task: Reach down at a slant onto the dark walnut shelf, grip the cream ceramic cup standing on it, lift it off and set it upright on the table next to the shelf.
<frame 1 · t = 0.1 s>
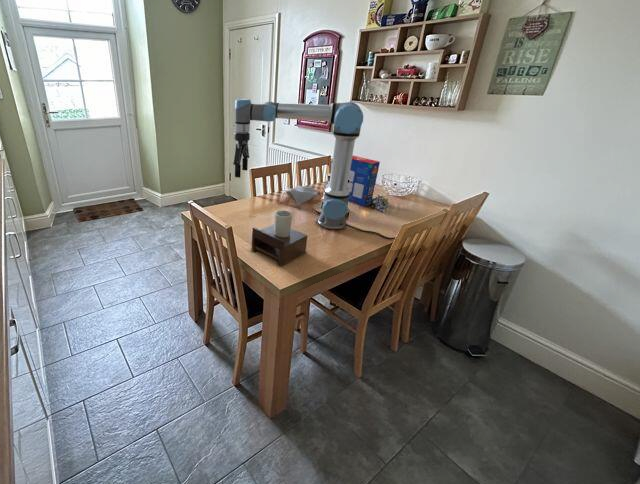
hand: (241, 173, 171), 28 cm above the table, tool pointing down, fingers open, 13 cm apart
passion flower: (377, 210, 203), on the table
pasta box: (349, 199, 219), on the table
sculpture: (300, 200, 215), on the table
cup: (281, 233, 151), point 9 cm above the table, touching shelf
shelf: (278, 251, 154), on the table
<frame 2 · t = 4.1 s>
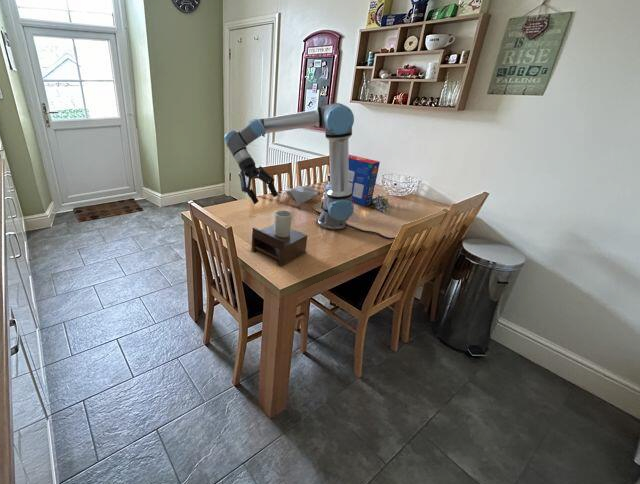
hand: (266, 199, 152), 23 cm above the table, tool tilted 45°, fingers open, 13 cm apart
nothing on the table moved.
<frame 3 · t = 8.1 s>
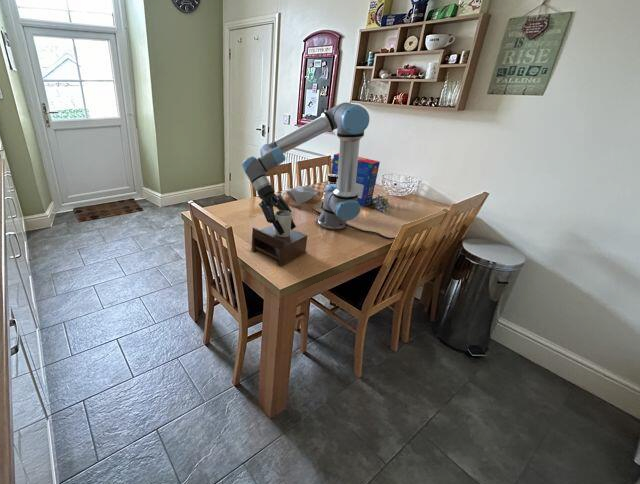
hand: (288, 230, 148), 12 cm above the table, tool tilted 45°, fingers closed on cup, 8 cm apart
cup: (281, 233, 151), point 9 cm above the table, touching gripper, shelf
everything else where it was.
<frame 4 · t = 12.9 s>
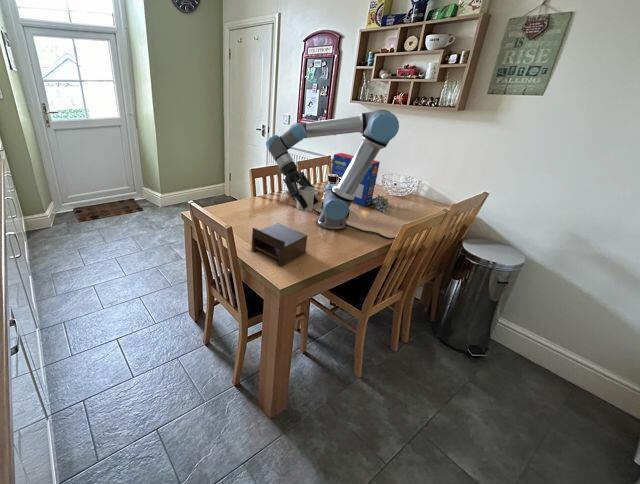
hand: (311, 205, 154), 20 cm above the table, tool tilted 45°, fingers closed on cup, 8 cm apart
cup: (304, 208, 158), point 17 cm above the table, touching gripper
everything else where it was.
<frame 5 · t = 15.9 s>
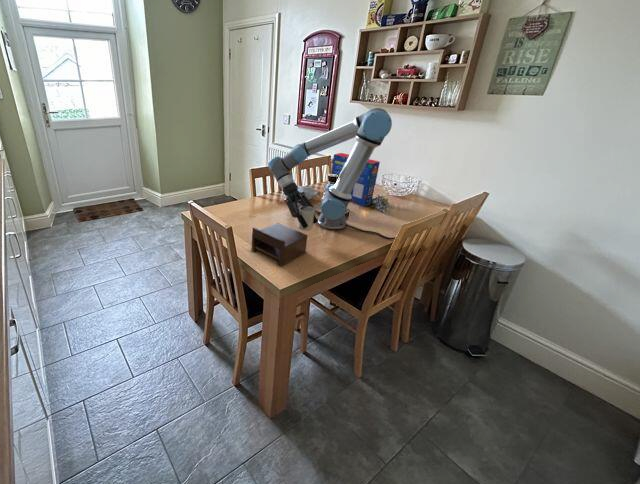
hand: (311, 225, 161), 9 cm above the table, tool tilted 45°, fingers closed on cup, 8 cm apart
cup: (304, 227, 164), point 6 cm above the table, touching gripper
everything else where it was.
when the fingers open (2 cm above the table, at t = 18.0 s): cup stays where it is, on the table.
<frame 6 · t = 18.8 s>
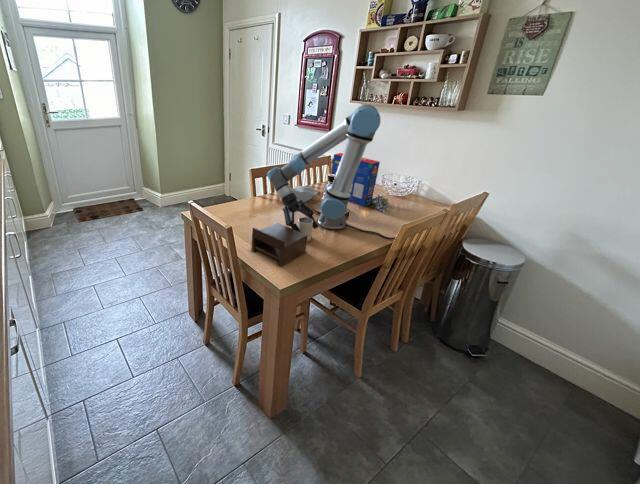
hand: (308, 231, 163), 4 cm above the table, tool tilted 45°, fingers open, 13 cm apart
cup: (303, 238, 167), on the table
everything else where it was.
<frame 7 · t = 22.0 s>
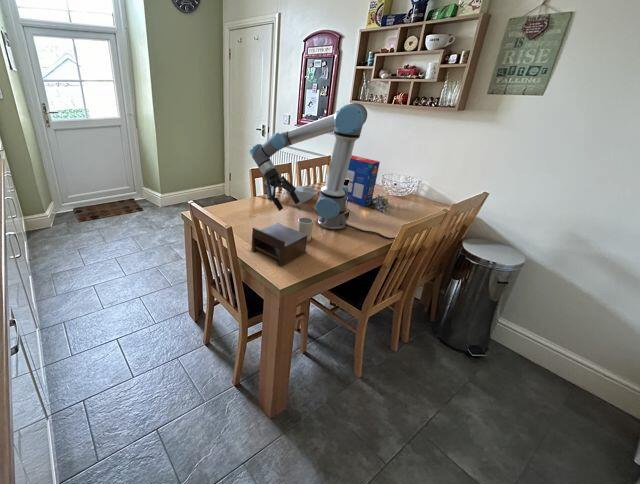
hand: (289, 206, 167), 14 cm above the table, tool tilted 45°, fingers open, 13 cm apart
nothing on the table moved.
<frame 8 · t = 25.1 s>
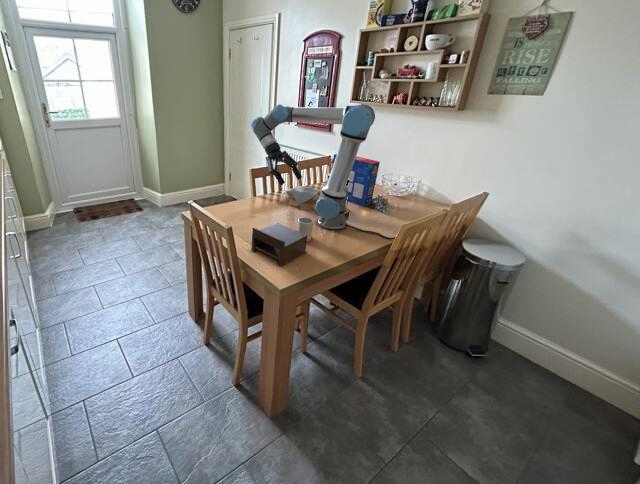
hand: (291, 181, 162), 28 cm above the table, tool tilted 45°, fingers open, 13 cm apart
nothing on the table moved.
at the end: cup inside the target area (0.1 cm from its centre), on the table; cup tilted 0°; the gripper is holding nothing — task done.
